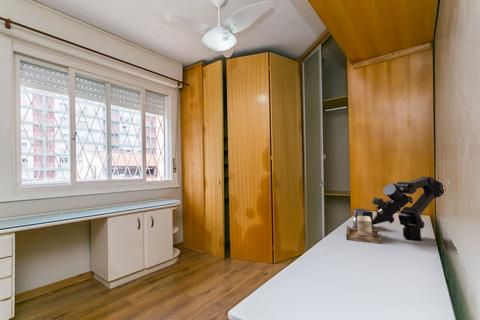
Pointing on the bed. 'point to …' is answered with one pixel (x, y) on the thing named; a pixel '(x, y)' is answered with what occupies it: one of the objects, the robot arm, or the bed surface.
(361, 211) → the small box
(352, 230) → the bay
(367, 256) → the bed surface
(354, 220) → the flanged metal cylinder
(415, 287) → the bed surface
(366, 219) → the pale wooden box
